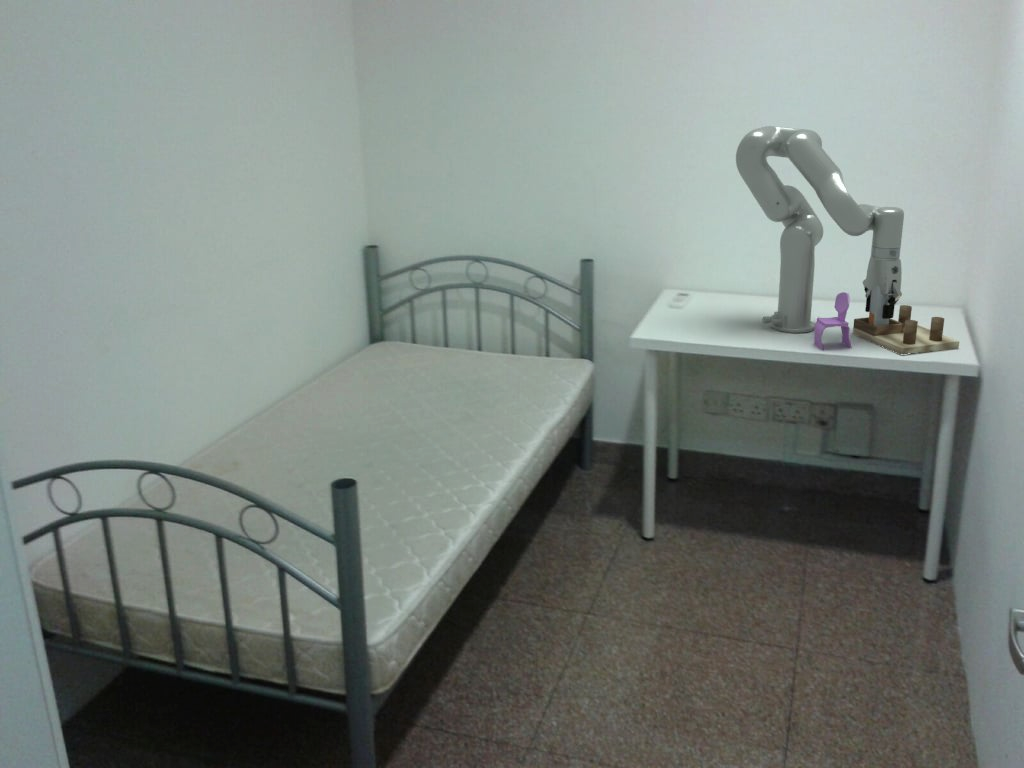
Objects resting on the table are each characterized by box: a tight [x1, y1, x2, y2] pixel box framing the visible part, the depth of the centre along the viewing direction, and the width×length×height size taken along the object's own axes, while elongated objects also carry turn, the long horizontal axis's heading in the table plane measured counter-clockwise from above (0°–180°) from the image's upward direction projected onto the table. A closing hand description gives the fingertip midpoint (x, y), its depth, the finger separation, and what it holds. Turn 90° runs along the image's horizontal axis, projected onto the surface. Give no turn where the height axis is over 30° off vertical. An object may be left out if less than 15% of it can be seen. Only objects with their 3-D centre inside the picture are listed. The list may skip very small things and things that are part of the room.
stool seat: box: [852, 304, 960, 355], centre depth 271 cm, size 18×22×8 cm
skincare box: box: [868, 286, 892, 326], centre depth 274 cm, size 6×4×12 cm
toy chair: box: [813, 291, 853, 351], centre depth 268 cm, size 8×9×15 cm
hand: (879, 314), depth 275 cm, fingers open, 7 cm apart
